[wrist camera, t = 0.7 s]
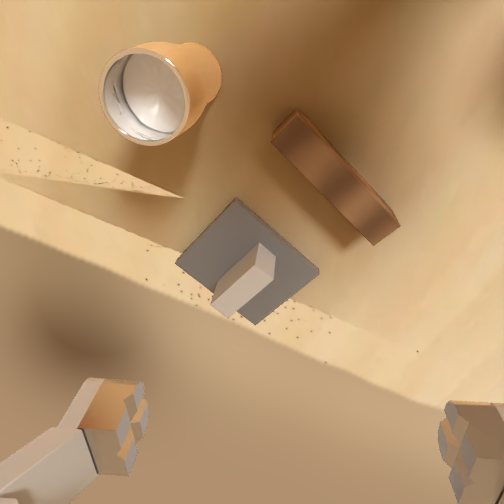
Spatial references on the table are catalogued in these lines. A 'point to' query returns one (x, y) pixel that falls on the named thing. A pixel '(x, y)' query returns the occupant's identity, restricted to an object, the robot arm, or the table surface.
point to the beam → (334, 177)
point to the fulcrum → (246, 264)
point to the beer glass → (158, 90)
